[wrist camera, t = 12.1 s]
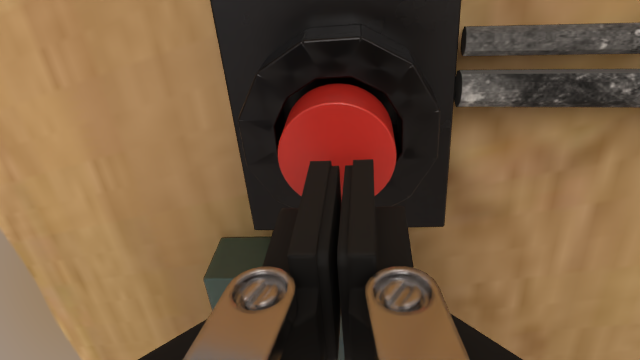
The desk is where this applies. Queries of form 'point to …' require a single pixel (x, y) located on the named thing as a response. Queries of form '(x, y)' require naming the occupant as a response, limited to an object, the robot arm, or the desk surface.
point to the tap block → (240, 268)
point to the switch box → (348, 68)
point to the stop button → (337, 134)
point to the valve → (549, 83)
